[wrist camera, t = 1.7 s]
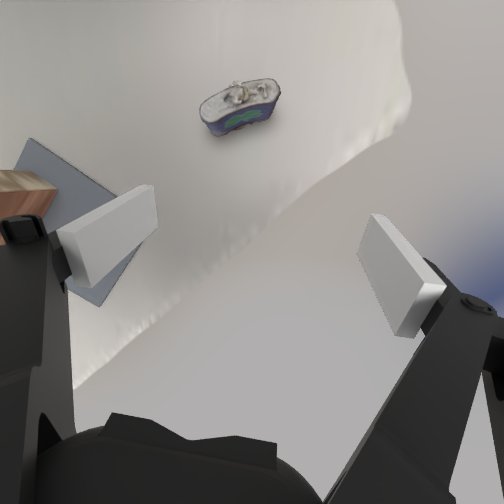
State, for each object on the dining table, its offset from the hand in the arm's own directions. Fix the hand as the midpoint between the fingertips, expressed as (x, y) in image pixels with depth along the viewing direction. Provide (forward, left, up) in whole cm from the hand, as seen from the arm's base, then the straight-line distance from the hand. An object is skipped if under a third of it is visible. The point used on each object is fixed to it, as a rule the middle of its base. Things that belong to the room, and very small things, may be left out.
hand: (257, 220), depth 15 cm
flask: (-7, +8, -24) cm, 26 cm away
